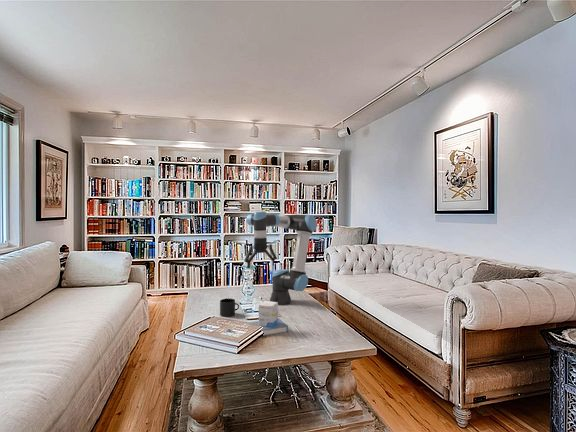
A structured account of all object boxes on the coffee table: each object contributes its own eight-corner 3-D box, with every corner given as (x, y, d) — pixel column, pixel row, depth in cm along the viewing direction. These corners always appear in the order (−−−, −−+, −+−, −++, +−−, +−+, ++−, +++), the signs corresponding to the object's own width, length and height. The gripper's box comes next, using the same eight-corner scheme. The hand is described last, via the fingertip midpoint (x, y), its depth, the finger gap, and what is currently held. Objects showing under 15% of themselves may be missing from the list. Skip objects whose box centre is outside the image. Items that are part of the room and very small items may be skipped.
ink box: (278, 322, 180) (278, 301, 180) (273, 327, 172) (273, 306, 172) (263, 320, 183) (264, 300, 183) (258, 325, 175) (258, 304, 175)
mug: (239, 316, 200) (239, 302, 200) (219, 317, 198) (219, 303, 198) (238, 311, 209) (238, 297, 209) (220, 312, 207) (220, 298, 207)
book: (279, 324, 187) (279, 318, 187) (287, 332, 175) (287, 325, 175) (249, 328, 180) (249, 322, 180) (256, 337, 168) (256, 330, 168)
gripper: (276, 235, 201) (277, 269, 202) (238, 238, 190) (239, 273, 191) (281, 236, 194) (282, 271, 195) (242, 239, 184) (243, 275, 185)
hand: (261, 272), depth 193 cm, fingers open, 13 cm apart
